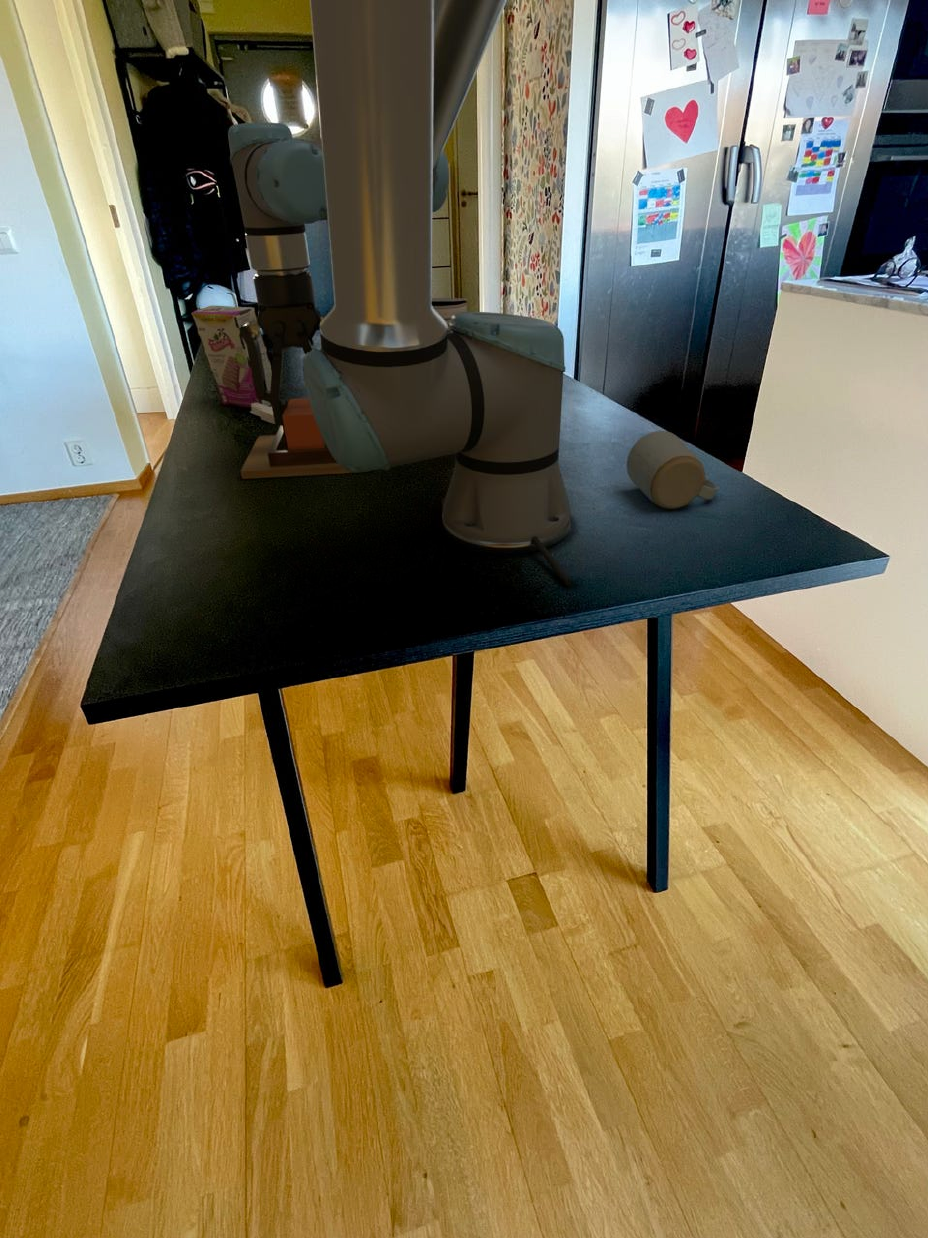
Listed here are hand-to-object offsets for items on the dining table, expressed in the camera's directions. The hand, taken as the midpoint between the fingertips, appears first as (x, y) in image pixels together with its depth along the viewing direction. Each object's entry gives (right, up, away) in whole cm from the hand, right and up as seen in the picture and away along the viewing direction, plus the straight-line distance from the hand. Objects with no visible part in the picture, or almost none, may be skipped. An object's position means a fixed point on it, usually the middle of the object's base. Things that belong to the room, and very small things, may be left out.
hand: (309, 444), depth 99 cm
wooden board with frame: (0, -2, +1) cm, 2 cm away
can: (+19, +36, +55) cm, 68 cm away
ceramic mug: (+50, -11, -14) cm, 53 cm away
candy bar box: (-16, +14, +24) cm, 32 cm away
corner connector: (-10, +11, +20) cm, 24 cm away
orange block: (0, 0, 0) cm, 0 cm away
